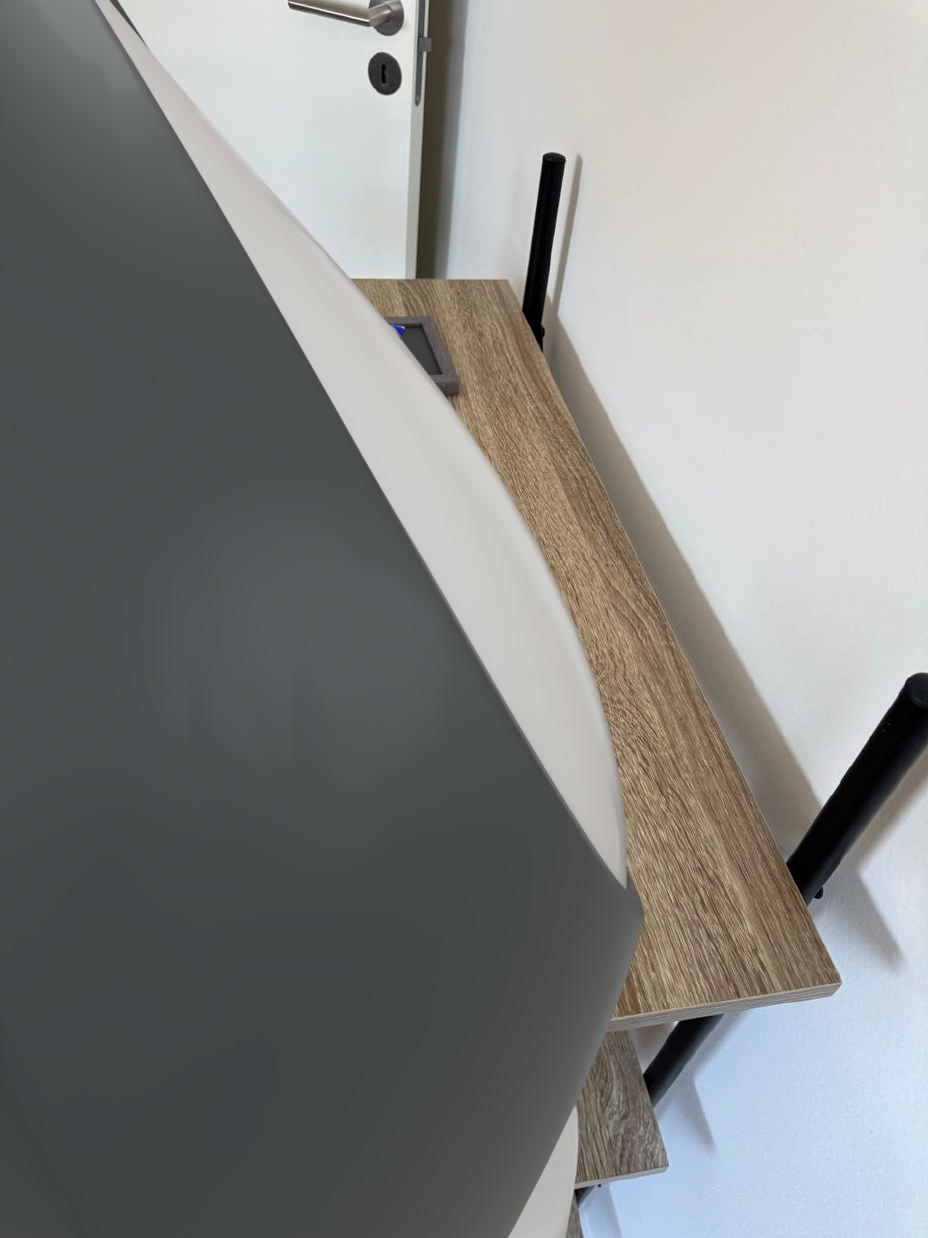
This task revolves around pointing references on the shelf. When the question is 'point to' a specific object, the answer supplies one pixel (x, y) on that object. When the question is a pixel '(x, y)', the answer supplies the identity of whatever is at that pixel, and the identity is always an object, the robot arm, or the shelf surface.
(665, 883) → the shelf surface
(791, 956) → the shelf surface
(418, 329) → the picture frame
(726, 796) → the shelf surface
